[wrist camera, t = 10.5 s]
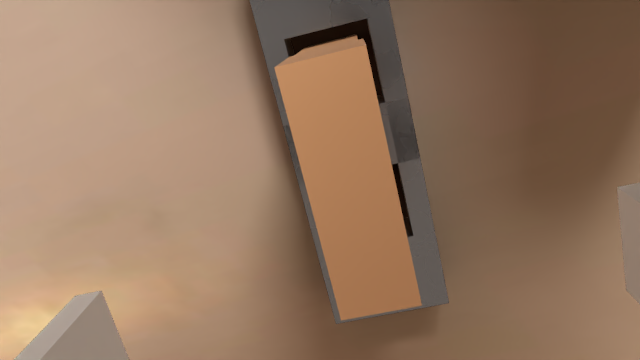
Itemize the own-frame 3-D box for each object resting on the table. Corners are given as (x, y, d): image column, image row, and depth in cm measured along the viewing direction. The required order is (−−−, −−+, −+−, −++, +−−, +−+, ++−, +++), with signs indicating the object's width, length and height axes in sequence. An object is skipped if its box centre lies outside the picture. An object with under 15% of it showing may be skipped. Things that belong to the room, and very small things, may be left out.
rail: (247, -43, 31) (236, -49, 28) (369, -77, 30) (371, -86, 27) (337, 299, 37) (336, 323, 34) (441, 279, 36) (449, 302, 33)
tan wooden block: (302, 47, 32) (274, 67, 20) (360, 32, 31) (365, 44, 20) (344, 219, 35) (341, 320, 23) (398, 208, 34) (422, 305, 23)
